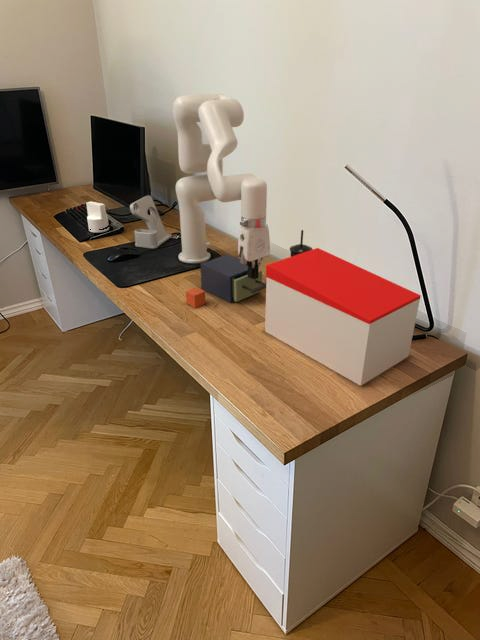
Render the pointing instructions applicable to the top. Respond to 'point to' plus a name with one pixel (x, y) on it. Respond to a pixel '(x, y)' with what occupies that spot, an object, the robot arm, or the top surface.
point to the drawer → (246, 286)
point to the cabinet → (221, 275)
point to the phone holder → (148, 224)
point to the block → (195, 297)
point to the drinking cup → (299, 247)
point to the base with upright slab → (97, 217)
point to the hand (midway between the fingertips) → (253, 277)
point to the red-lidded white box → (339, 314)
